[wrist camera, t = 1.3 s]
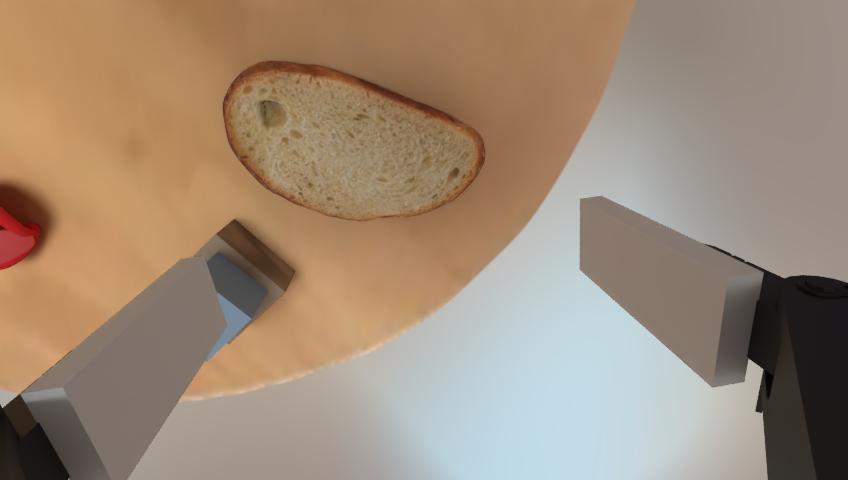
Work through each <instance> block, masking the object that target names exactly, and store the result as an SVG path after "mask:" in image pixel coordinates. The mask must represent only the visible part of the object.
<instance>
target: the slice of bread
mask: <svg viewBox="0 0 848 480" xmlns="http://www.w3.org/2000/svg"><path fill="white" fill-rule="evenodd" d="M223 115H224V122H225V128H226V133H227V138H228V141H229V144H230V147H231V148H232V150H233V152H234V153H235V155H236V156H237V158H238V159H239V160H240V162H241V163H242V164H243V165H244V166H245V167H246V169H247V170H248V171H249V172H250V173H251V174H252V175H253V176H254V177H255V178H256V179H257V180H258V181H259V182H260V183H261V184H262V185H263V186H264V187H265V188H266V189H268V190H269V191H271V192H273V193H275V194H278V195H280V196H282V197H283V198H285V199H287V200H289V201H291V202H292V203H294V204H297V205H300V206H303V207H306V208H308V209H312V210H315V211H318V212H320V213H322V214H324V215H327V216H331V217H337V218H342V219H347V220H357V221H369V220H373V219H376V218H384V217H399V216H415V215H419V214H421V213H425V212H428V211H431V210H433V209H436V208H438V207H440V206H442V205H445V204H447V203H449V202H451V201H453V200H454V199H455V198H457V197H458V196H459V195H460V194H461V193H462V192H463V191H464V190H465V189H466V188H467V187H468V186H469V185H470V184H471V183H472V181H473V180H474V179H475V178H476V176H477V175H478V173H479V171H480V169H481V167H482V165H483V164H484V160H485V149H484V142H483V139H482V137H481V136H480V135H479V134H478V133H477V132H476V131H475V130H474V129H472V128H470V127H468V126H466V125H465V124H463V123H462V122H460V121H458V120H457V119H455V118H453V117H452V116H450V115H448V114H446V113H443V112H441V111H439V110H436V109H434V108H432V107H430V106H427V105H425V104H421V103H418V102H415V101H413V100H410V99H408V98H405V97H403V96H401V95H398V94H396V93H393V92H391V91H389V90H386V89H384V88H381V87H379V86H377V85H374V84H372V83H369V82H367V81H364V80H362V79H359V78H356V77H353V76H350V75H347V74H343V73H340V72H337V71H334V70H332V69H329V68H325V67H321V66H316V65H310V66H307V65H300V64H294V63H288V62H275V61H268V62H260V63H257V64H255V65H253V66H251V67H249V68H248V69H246V70H245V71H243V72H242V73H241V74H240V75H239V76H238V77H237V78H236V79H235V80H234V81H233V83H232V84H231V86H230V87H229V89H228V91H227V94H226V96H225V98H224V102H223Z"/></svg>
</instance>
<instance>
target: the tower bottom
mask: <svg viewBox="0 0 848 480" xmlns="http://www.w3.org/2000/svg"><path fill="white" fill-rule="evenodd" d="M217 252H220V253H221V254H222V255H223V256H225V257H226V258H227V259H228V260H230V261H231V262H232V263H233V264H235V265H236V266H237V267H238V268H240V269H241V270H242V271H243V272H244V273H246V274H247V275H248V276H249V277H251V278H252V279H253V280H254V281H256V282H257V283H258V284H259V285H261V286H262V287H263V288H264V289H266V290H267V291H268V292H267V294H266V296H265V297H264V299H263V301H262V302H261V304H260V306H259V308H258V309H257V311H256V313H255V314H254V316H253V318H252V319H251V320H250V321H249V322H248V323H247V324H246V325H245V326H244V327H243V328H242V329H241V330H240V331H239V332H237V333H236V334H235V335H234V336H233V337H232V338H231V339H230V340H229V341H228V342H227V343H228V344H230V343H231V342H232V341H233V340H234V339H235V338H236V337H237V336H238V335H239V334H240V333H242V332H243V331H244V330H245V329H246V328H247V327H248V326H249V325H250V324H251V323H252V322H253V321H254V320H256V319H257V318H258V317H259V316H260V315H261V314H262V313H263V312H264V311H265V310H266V309H267V308H268V307H270V306H271V305H272V304H273V303H274V302H275V301H276V300H277V299H278V298H279V297H280V296H281V295H282V294H283V293H285V291H286V289H287V287H288V285H289V283H290V281H291V279H292V277H293V275H294V273H295V271H294V270H293V269H292V268H291V267H289V266H288V265H287V264H286V263H285V262H284V261H282V260H281V259H280V258H279V257H278V256H277V255H276V254H274V253H273V252H272V251H271V250H270V249H269V248H267V247H266V246H265V245H264V244H263V243H262V242H260V241H259V240H258V239H257V238H256V237H255V236H253V235H252V234H251V233H250V232H249V231H248V230H247V229H245V228H244V227H243V226H242V225H241V224H240V223H238V222H237V221H236V220H235V219H234V220H233V221H232V222H230V223H229V224H228V225H227V226H225V227H224V228H223V229H222V230H221V231H219V232H218V233H217V234H216V235H215V236H214V237H213V238H212V239H211V240H210V241H209V242H208V243H207V244H206V245H205V246H204V247H203V248H202V249H201V250H200V251H199V252H198V253H197V254H196V255H195V256H194V257H199V256H204V257H205V260H206V262H207V261H208V260H209V259H210V258H211V257H212V256H213V255H215V254H216V253H217Z"/></svg>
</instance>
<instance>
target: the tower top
mask: <svg viewBox="0 0 848 480" xmlns="http://www.w3.org/2000/svg"><path fill="white" fill-rule="evenodd" d="M206 263H207V266H208V269H209V272H210V275H211V278H212V281H213V284H214V287H215V290H216V293H217V296H218V298H219V301H220V304H221V307H222V310H223V313H224V316H225V319H226V322H227V325H228V326H227V328H226V329H225V331H224V332H223V334H222V335H221V337H220V338H219V340H218V341H217V343H216V344H215V346H214V347H213V349H212V350H211V352H210V354H209V355H208V357H207V358H206V360H205V361H208V360H209V359H210V358H211V357H212V356H213V355H214V354H215V353H216V352H218V351H219V350H220V349H221V348H222V347H223V346H224V345H225V344H226V343H227V342H228V341H229V340H230V339H231V338H232V337H233V336H234V335H235V334H236V333H237V332H239V331H240V330H241V329H242V328H243V327H244V326H245V325H246V324H247V323H248V322H249V321H250V320H251V319H252V318H253V316H254V314H255V313H256V311H257V309H258V308H259V306H260V304H261V302H262V301H263V299H264V297H265V296H266V294H267V292H268V291H267V290H266V289H264V288H263V287H262V286H261V285H259V284H258V283H257V282H256V281H254V280H253V279H252V278H251V277H249V276H248V275H247V274H246V273H244V272H243V271H242V270H241V269H240V268H238V267H237V266H236V265H235V264H233V263H232V262H231V261H230V260H228V259H227V258H226V257H225V256H223V255H222V254H221V253H220V252H217V253H216V254H215V255H213V256H212V257H211V258H210V259H209V260H208V261H207V262H206Z"/></svg>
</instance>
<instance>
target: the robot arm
mask: <svg viewBox="0 0 848 480" xmlns="http://www.w3.org/2000/svg"><path fill="white" fill-rule="evenodd" d="M580 270H581V271H582V272H583V273H584V274H585V275H586V276H588V277H589V278H590V279H591V280H592V281H593V282H594V283H595V284H597V285H598V286H599V287H600V288H601V289H602V290H603V291H604V292H606V293H607V294H608V295H609V296H610V297H611V298H612V299H613V300H615V301H616V302H617V303H618V304H619V305H620V306H621V307H622V308H624V309H625V310H626V311H627V312H628V313H629V314H630V315H631V316H633V317H634V318H635V319H636V320H637V321H638V322H639V323H640V324H642V325H643V326H644V327H645V328H646V329H647V330H648V331H649V332H650V333H652V334H653V335H654V336H655V337H656V338H657V339H658V340H659V341H661V342H662V343H663V344H664V345H665V346H666V347H667V348H668V349H670V350H671V351H672V352H673V353H674V354H675V355H676V356H677V357H679V358H680V359H681V360H682V361H683V362H684V363H685V364H687V365H688V366H689V367H690V368H691V369H692V370H693V371H694V372H696V373H697V374H698V375H699V376H700V377H701V378H702V379H703V380H704V381H706V382H707V383H708V384H709V385H710V386H711V387H718V386H724V385H729V384H734V383H740V382H744V381H745V375H746V370H747V364H748V358H749V359H750V360H752V361H753V362H754V363H756V364H757V365H759V366H760V367H761V368H763V369H764V370H763V375H762V380H761V385H760V390H759V396H758V400H757V406H756V412H760V413H762V411H763V421H764V433H765V447H766V460H767V474H768V480H848V283H846V282H843V281H839V280H836V279H831V278H826V277H820V276H807V275H800V276H790V277H788V278H785V279H784V278H782V277H780V276H778V275H776V274H773V273H771V272H769V271H767V270H765V269H763V268H760V267H758V266H756V265H754V264H752V263H750V262H745V261H744V260H743V259H741V258H739V257H736V256H732V255H731V254H730V253H728V252H726V251H724V250H721V249H719V248H717V247H715V246H710V245H707V244H703V243H700V242H698V241H696V240H694V239H692V238H690V237H688V236H685V235H683V234H681V233H679V232H677V231H675V230H673V229H671V228H668V227H666V226H664V225H662V224H659V223H658V222H656V221H653V220H651V219H649V218H647V217H645V216H643V215H641V214H639V213H636V212H634V211H632V210H630V209H628V208H626V207H624V206H621V205H619V204H617V203H615V202H613V201H611V200H609V199H607V198H605V197H602V196H597V197H591V198H584V199H580ZM227 326H228V325H227V322H226V319H225V316H224V313H223V310H222V307H221V304H220V301H219V298H218V296H217V293H216V290H215V287H214V284H213V281H212V278H211V275H210V272H209V269H208V266H207V263H206V260H205V257H204V256H199V257H192V258H186V259H181V260H179V261H178V262H177V263H176V264H175V265H174V266H172V267H171V268H170V269H169V270H168V271H166V272H165V273H164V274H163V275H162V276H160V277H159V278H158V279H157V280H156V281H154V282H153V283H152V284H151V285H150V286H148V287H147V288H146V289H145V290H144V291H143V292H141V293H140V294H139V295H138V296H137V297H135V298H134V299H133V300H132V301H131V302H129V303H128V304H127V305H126V306H125V307H123V308H122V309H121V310H120V311H119V312H117V313H116V314H115V315H114V316H113V317H112V318H110V319H109V320H108V321H107V322H106V323H104V324H103V325H102V326H101V327H100V328H98V329H97V330H96V331H95V332H94V333H92V334H91V335H90V336H89V337H88V338H86V339H85V340H84V341H83V342H82V343H81V344H79V345H78V346H77V347H76V348H75V349H73V350H72V351H70V352H69V353H68V354H67V355H66V356H64V357H63V358H62V359H61V360H60V361H58V362H57V363H56V364H55V365H54V366H53V367H51V368H50V369H49V370H48V371H46V372H45V373H44V374H43V375H42V376H41V377H40V378H38V379H37V380H36V381H35V382H33V383H32V384H31V385H30V386H29V387H27V388H26V389H25V390H24V391H23V392H21V393H20V394H19V395H18V396H17V397H15V398H14V399H13V400H12V401H11V402H9V403H8V404H7V405H6V406H5V407H3V408H2V407H1V405H0V480H68V479H70V480H127V479H128V478H129V476H130V474H131V473H132V471H133V470H134V468H135V467H136V465H137V464H138V462H139V461H140V459H141V457H142V456H143V455H144V453H145V451H146V450H147V448H148V447H149V445H150V444H151V442H152V441H153V439H154V438H155V436H156V435H157V433H158V431H159V430H160V429H161V427H162V425H163V424H164V422H165V421H166V419H167V418H168V416H169V415H170V413H171V412H172V410H173V409H174V407H175V406H176V404H177V403H178V401H179V399H180V398H181V396H182V395H183V393H184V392H185V390H186V389H187V387H188V386H189V384H190V383H191V381H192V380H193V378H194V376H195V375H196V373H197V372H198V370H199V369H200V367H201V366H202V364H203V363H204V361H205V360H206V358H207V357H208V355H209V354H210V352H211V350H212V349H213V347H214V346H215V344H216V343H217V341H218V340H219V338H220V337H221V335H222V334H223V332H224V331H225V329H226V328H227Z"/></svg>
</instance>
